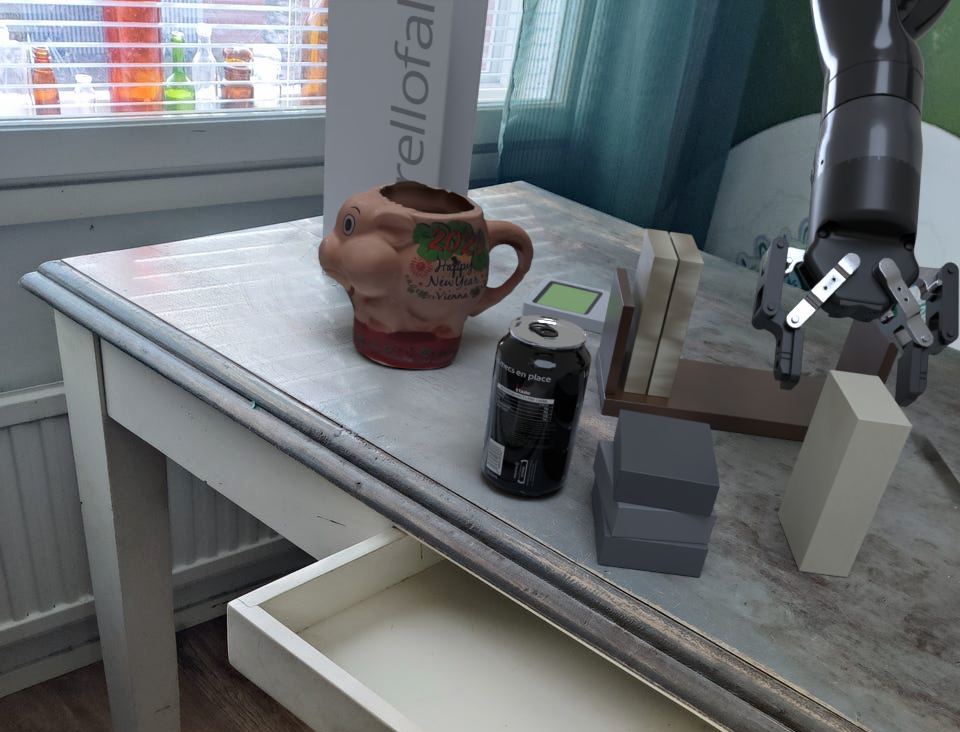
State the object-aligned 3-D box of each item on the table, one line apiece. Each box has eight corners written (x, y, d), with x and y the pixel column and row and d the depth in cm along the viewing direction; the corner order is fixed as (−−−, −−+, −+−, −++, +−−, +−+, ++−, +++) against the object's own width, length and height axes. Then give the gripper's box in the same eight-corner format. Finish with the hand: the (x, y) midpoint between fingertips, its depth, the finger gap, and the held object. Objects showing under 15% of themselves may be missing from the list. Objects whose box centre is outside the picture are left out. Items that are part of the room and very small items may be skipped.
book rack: (832, 394, 98) (883, 256, 90) (864, 449, 89) (924, 301, 80) (594, 361, 97) (624, 219, 89) (601, 414, 88) (634, 260, 79)
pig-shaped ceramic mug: (489, 321, 102) (508, 178, 94) (541, 370, 94) (567, 218, 85) (300, 329, 94) (302, 173, 86) (339, 383, 86) (346, 217, 77)
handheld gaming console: (661, 332, 101) (522, 299, 104) (657, 347, 102) (520, 314, 105) (675, 303, 109) (546, 273, 112) (672, 317, 110) (544, 287, 113)
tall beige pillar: (821, 520, 77) (878, 376, 70) (847, 577, 71) (912, 426, 64) (777, 514, 77) (829, 369, 70) (798, 571, 71) (858, 418, 64)
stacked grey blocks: (684, 504, 77) (708, 420, 72) (701, 578, 69) (730, 488, 64) (586, 491, 76) (604, 406, 72) (592, 564, 68) (613, 472, 64)
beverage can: (533, 453, 80) (558, 308, 73) (583, 493, 76) (615, 344, 69) (462, 467, 77) (481, 316, 69) (510, 510, 73) (536, 355, 65)
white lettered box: (321, 272, 107) (329, -63, 89) (354, 263, 111) (368, -61, 93) (425, 312, 102) (456, -36, 83) (456, 300, 106) (492, -35, 87)
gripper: (788, 137, 68) (769, 360, 66) (988, 167, 69) (974, 389, 67) (752, 198, 76) (734, 400, 74) (933, 225, 76) (919, 425, 74)
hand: (848, 394), depth 70 cm, fingers open, 8 cm apart
